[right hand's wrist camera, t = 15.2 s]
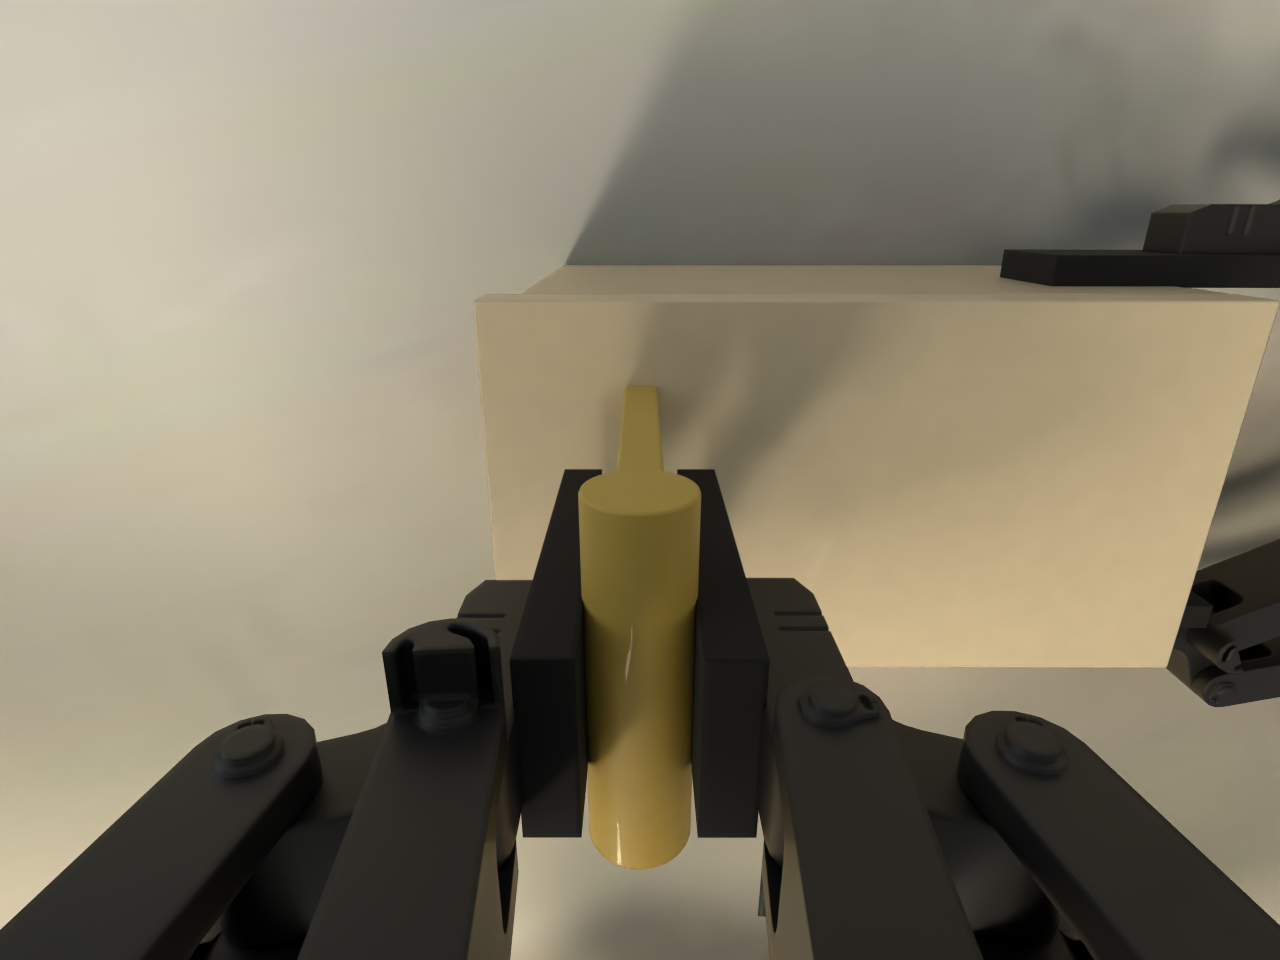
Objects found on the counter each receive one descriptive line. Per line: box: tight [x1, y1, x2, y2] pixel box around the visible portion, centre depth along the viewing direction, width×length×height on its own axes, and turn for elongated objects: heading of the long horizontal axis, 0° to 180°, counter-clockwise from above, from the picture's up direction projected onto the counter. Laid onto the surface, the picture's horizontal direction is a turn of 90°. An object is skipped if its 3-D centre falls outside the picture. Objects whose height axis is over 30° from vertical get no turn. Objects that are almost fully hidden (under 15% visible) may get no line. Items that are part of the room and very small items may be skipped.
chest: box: [522, 265, 1227, 294], centre depth 22 cm, size 16×9×9 cm, turn 90°
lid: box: [473, 294, 1280, 869], centre depth 13 cm, size 17×9×8 cm, turn 90°
